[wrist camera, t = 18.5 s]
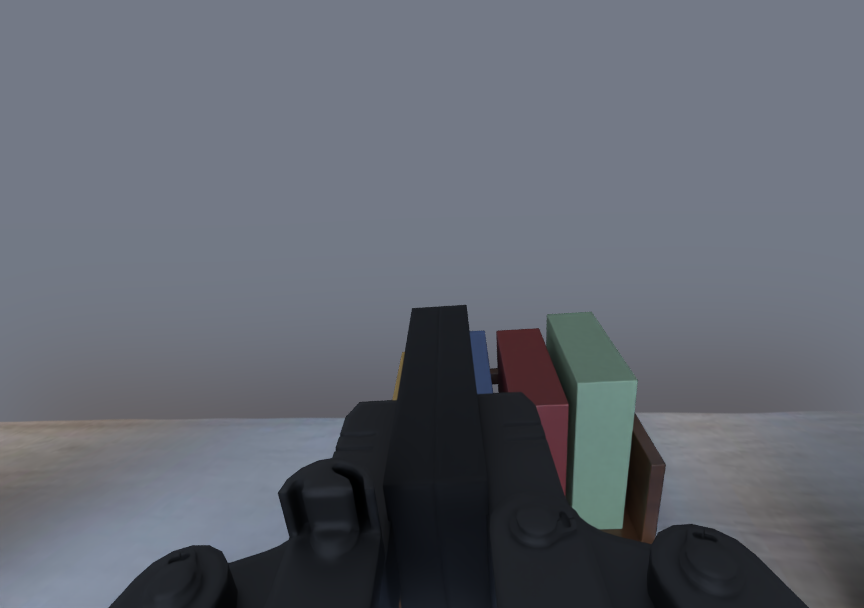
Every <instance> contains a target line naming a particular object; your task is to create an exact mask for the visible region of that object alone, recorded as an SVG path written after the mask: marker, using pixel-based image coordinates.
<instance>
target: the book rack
mask: <svg viewBox="0 0 864 608" xmlns="http://www.w3.org/2000/svg"><path fill="white" fill-rule="evenodd" d="M490 374H491V381H492V384H498V368H494V369H490ZM665 467H666V464H665V462H664V461H663V459H662V457H661V456H660V454H659V452H658V451H657V449H656V447H655V446H654V444H653V442H652V441H651V439H650V437H649V436H648V434H647V432H646V431H645V429H644V427H643V426H642V424H641V422H640V420H639V419H638V417H637V415H636V414H635V412H634V422H633V431H632V441H631V450H630V460H629V469H628V479H627V488H626V498H625V507H624V517H623V527H622V529H599V530H601V531H603V532H606V533H609V534H612V535H615V536H619V537H623V538H627V539H631V540H635V541H640V542H644V543H648V544H652V543H653V541H654V540H655V536H656V529H657V522H658V515H659V508H660V501H661V494H662V487H663V481H664V474H665ZM399 608H401V602H399Z"/></svg>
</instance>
